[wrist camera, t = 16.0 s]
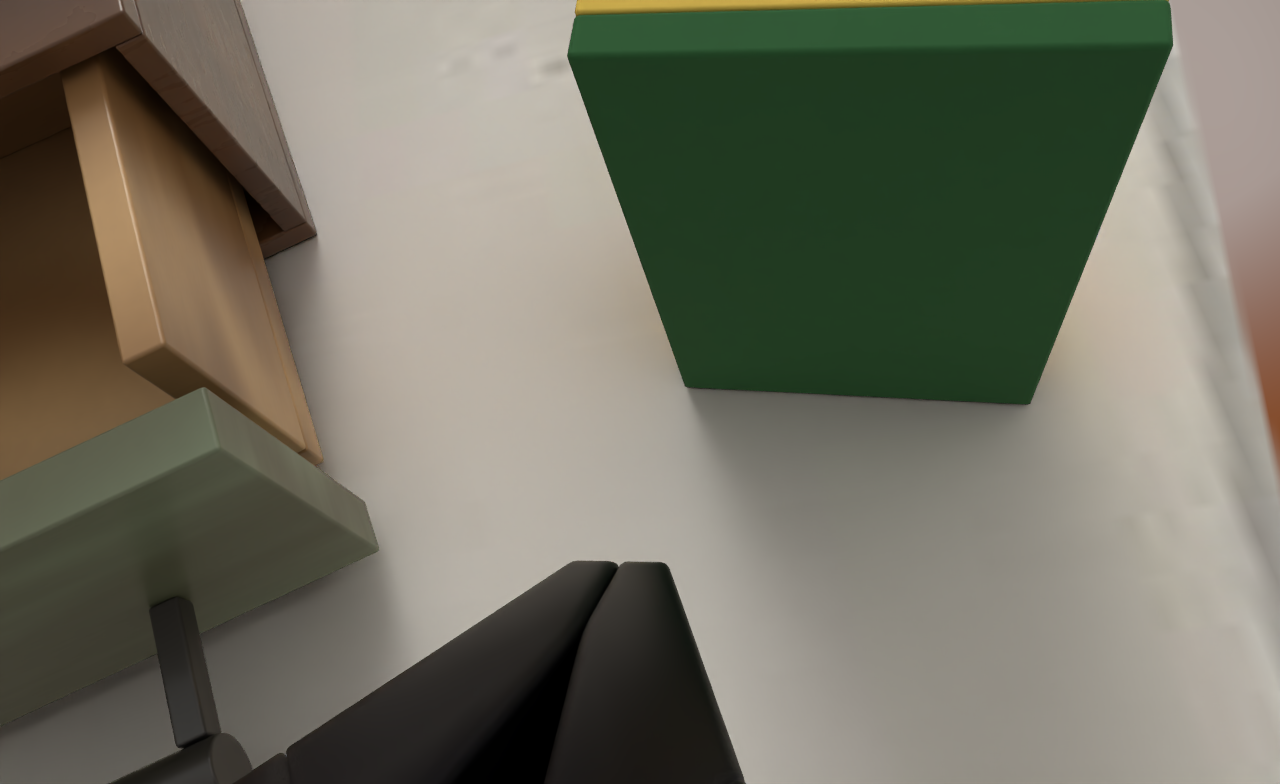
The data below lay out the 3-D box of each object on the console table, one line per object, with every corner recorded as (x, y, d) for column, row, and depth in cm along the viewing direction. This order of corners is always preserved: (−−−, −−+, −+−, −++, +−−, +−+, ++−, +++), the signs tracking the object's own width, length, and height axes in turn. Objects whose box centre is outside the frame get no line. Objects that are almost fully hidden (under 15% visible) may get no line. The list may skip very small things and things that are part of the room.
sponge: (1030, 406, 21) (1175, 46, 12) (684, 388, 23) (564, 56, 13) (1029, 232, 23) (1157, -213, 13) (704, 226, 24) (609, -177, 15)
